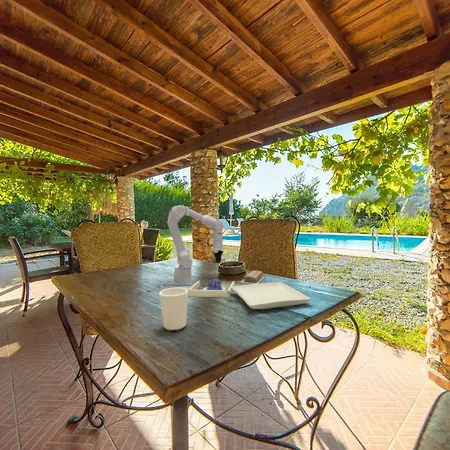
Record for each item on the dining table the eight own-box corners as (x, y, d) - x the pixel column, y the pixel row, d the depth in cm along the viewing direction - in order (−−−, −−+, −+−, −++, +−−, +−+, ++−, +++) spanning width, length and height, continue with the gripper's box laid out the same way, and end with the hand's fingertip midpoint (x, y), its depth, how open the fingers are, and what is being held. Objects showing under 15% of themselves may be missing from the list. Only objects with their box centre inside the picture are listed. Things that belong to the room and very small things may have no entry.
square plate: (249, 314, 99) (249, 304, 99) (230, 293, 125) (229, 285, 125) (311, 306, 106) (311, 297, 106) (280, 288, 132) (280, 280, 132)
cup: (188, 333, 85) (187, 295, 85) (158, 335, 85) (156, 296, 84) (190, 320, 95) (188, 286, 95) (163, 322, 94) (161, 287, 94)
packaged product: (249, 269, 159) (265, 270, 155) (249, 277, 159) (265, 278, 155) (239, 276, 142) (257, 277, 138) (239, 284, 142) (257, 286, 138)
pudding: (230, 288, 135) (229, 278, 135) (218, 295, 125) (218, 284, 124) (210, 286, 141) (210, 276, 141) (198, 292, 130) (197, 282, 130)
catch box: (188, 296, 123) (188, 290, 123) (198, 286, 140) (198, 280, 140) (229, 297, 120) (229, 291, 120) (234, 287, 137) (234, 281, 136)
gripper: (222, 241, 146) (222, 265, 147) (226, 239, 161) (227, 260, 161) (210, 241, 148) (210, 265, 148) (215, 239, 162) (216, 260, 163)
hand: (218, 263), depth 155 cm, fingers closed
